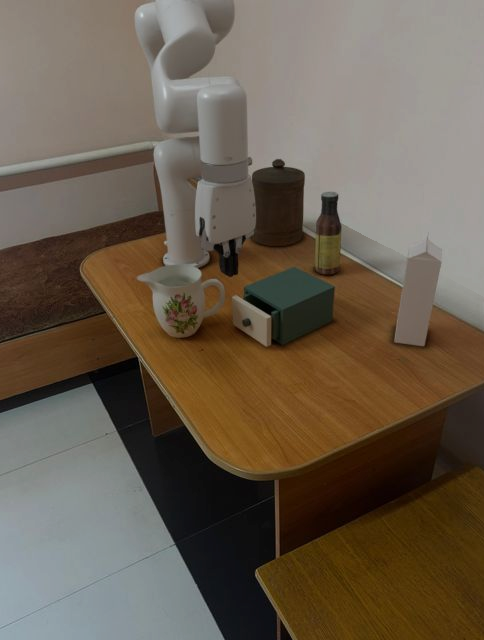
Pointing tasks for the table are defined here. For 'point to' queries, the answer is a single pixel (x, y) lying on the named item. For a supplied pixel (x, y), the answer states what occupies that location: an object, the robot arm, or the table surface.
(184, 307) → the pitcher
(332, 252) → the sauce bottle
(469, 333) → the table surface
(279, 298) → the cabinet
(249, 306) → the drawer
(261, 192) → the wooden container
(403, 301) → the milk
